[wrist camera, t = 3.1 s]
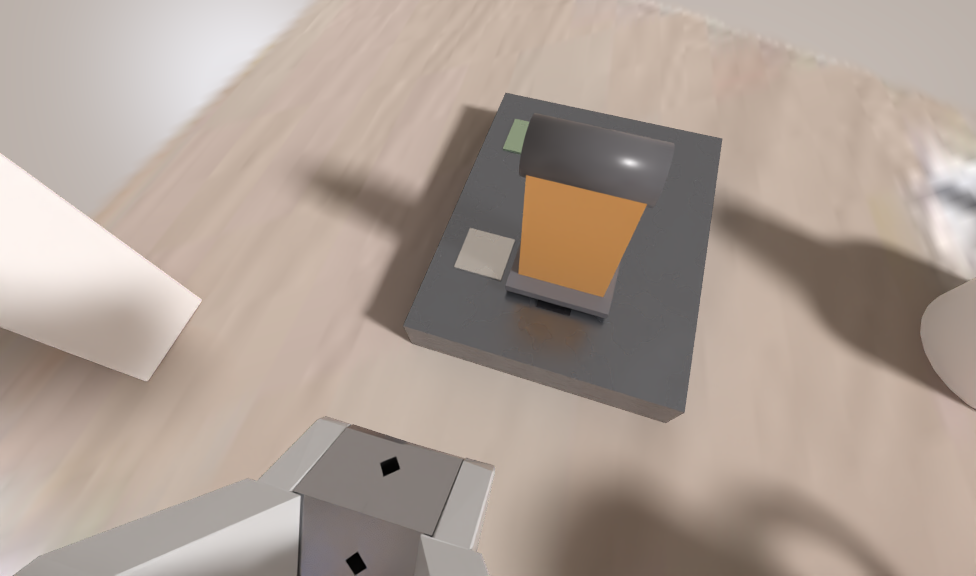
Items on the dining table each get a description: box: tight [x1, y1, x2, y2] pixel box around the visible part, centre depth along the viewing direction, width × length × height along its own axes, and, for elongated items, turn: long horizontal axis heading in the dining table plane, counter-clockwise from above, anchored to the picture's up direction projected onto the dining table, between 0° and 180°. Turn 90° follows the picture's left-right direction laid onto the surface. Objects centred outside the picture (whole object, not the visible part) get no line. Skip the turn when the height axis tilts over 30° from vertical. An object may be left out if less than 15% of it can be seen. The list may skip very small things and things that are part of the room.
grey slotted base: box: [403, 93, 722, 423], centre depth 31 cm, size 20×16×3 cm
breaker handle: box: [505, 113, 675, 319], centre depth 22 cm, size 4×6×11 cm
